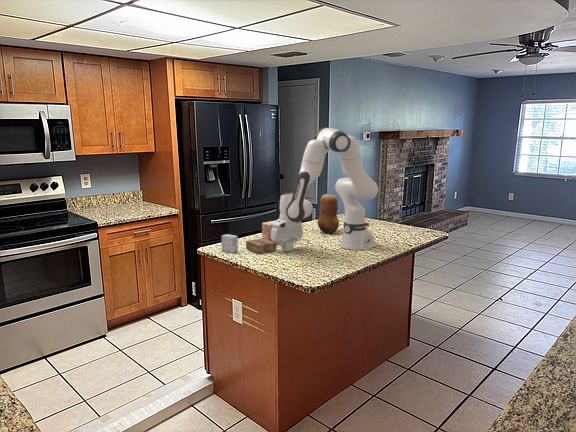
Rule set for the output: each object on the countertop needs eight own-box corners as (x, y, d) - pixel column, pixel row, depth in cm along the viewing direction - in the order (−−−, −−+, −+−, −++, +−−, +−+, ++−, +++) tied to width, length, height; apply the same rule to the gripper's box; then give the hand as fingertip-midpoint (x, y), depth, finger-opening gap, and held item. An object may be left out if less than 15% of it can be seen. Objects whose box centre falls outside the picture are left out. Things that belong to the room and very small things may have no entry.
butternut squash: (339, 231, 277) (341, 193, 272) (337, 236, 264) (338, 196, 259) (319, 229, 280) (320, 192, 275) (315, 234, 267) (316, 195, 262)
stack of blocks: (290, 237, 259) (290, 218, 256) (296, 239, 254) (297, 219, 251) (261, 243, 245) (261, 222, 243) (268, 245, 241) (268, 224, 238)
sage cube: (287, 247, 236) (288, 239, 235) (293, 249, 232) (293, 240, 231) (280, 249, 233) (280, 240, 232) (286, 251, 229) (286, 242, 228)
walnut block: (264, 246, 239) (264, 238, 238) (276, 251, 229) (276, 242, 228) (246, 249, 232) (246, 240, 231) (257, 254, 223) (257, 245, 222)
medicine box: (238, 251, 227) (238, 235, 226) (233, 253, 224) (232, 237, 222) (226, 249, 231) (226, 233, 230) (221, 251, 228) (221, 235, 226)
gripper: (298, 218, 238) (297, 242, 241) (269, 223, 225) (269, 248, 228) (305, 220, 233) (305, 244, 236) (276, 225, 220) (276, 250, 223)
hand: (287, 246), depth 232 cm, fingers closed on sage cube, 5 cm apart
